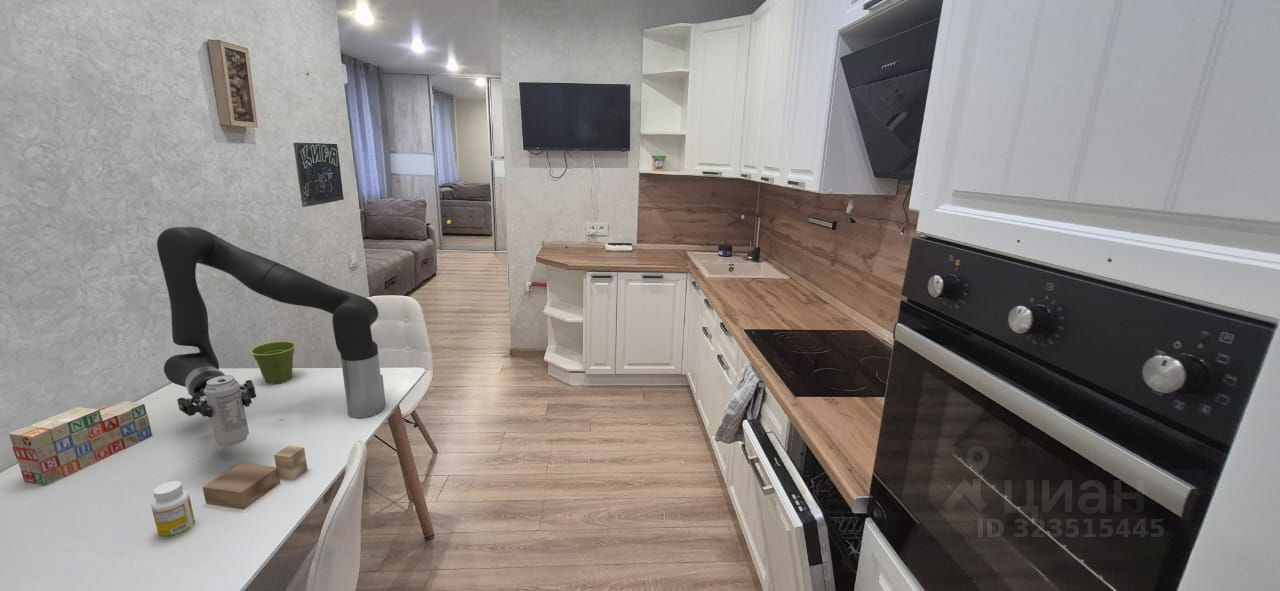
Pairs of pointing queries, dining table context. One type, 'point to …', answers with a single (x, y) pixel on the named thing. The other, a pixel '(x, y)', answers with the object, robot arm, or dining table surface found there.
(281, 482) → the blueprint board
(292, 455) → the oak post
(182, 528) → the supplement bottle
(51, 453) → the stack of blocks
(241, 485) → the base block
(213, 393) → the energy drink can
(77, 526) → the dining table surface
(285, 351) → the plant pot
